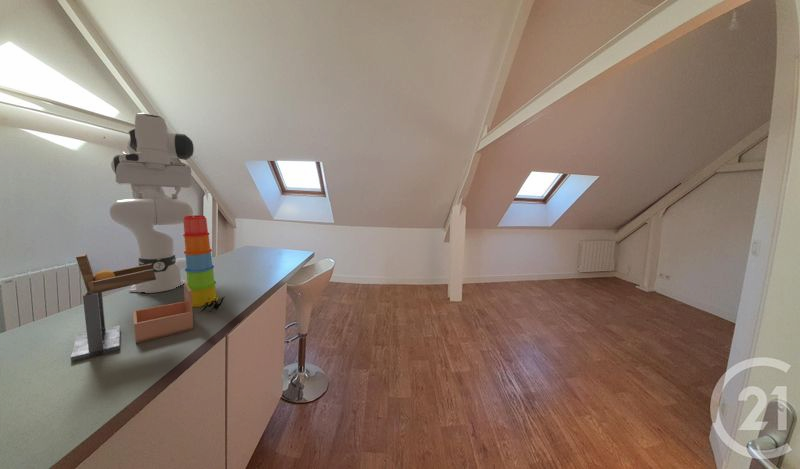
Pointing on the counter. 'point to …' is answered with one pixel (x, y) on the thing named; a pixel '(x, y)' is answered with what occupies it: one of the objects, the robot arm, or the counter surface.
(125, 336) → the counter surface
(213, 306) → the creature
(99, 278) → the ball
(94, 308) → the lever stand
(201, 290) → the stacking cups
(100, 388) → the counter surface
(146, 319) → the cup
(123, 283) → the lever
